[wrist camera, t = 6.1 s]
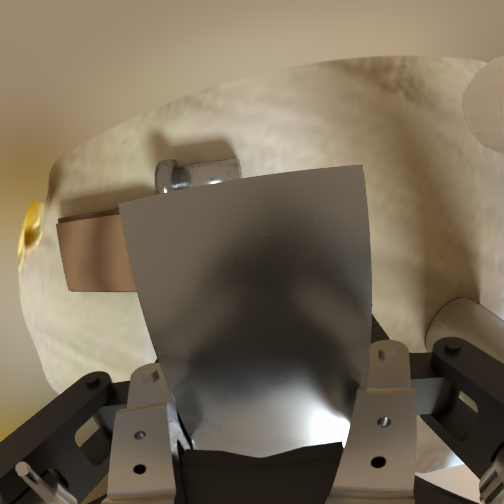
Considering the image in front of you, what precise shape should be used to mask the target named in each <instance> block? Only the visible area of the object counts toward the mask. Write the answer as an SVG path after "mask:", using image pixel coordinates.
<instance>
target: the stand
mask: <svg viewBox="0 0 504 504" xmlns="http://www.w3.org/2000/svg"><path fill="white" fill-rule="evenodd" d="M56 227H57V234H58V240H59V246H60V252H61V258H62V263H63V268H64V273H65V277H66V282H67V286H68V290H71V292H137V290H136V286H135V282H134V278H133V274H132V270H131V266H130V262H129V257H128V253H127V248H126V244H125V239H124V234H123V229H122V224H121V218H120V213H119V209H115V210H108V211H101V212H95V213H88V214H82V215H76V216H70V217H65V218H60V219H58V224H56Z"/></svg>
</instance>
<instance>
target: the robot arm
mask: <svg viewBox="0 0 504 504" xmlns="http://www.w3.org/2000/svg"><path fill="white" fill-rule="evenodd" d="M426 349H427V352H428V353H409V350H408V348H407V346H406V345H405V344H403V343H401V342H399V341H395V340H390V339H389V337H388V336H387V334H386V333H385V332H384V330H383V329H382V327H381V326H380V325H379V323H378V322H377V321H376V319H375V317H374V316H373V315H372V324H371V348H370V364H369V371H366V372H362V378H361V384H360V387H358V390H357V395H356V400H355V405H354V409H353V414H352V418H351V423H350V427H349V431H348V435H347V439H346V443H345V446H343V442H342V441H338V442H332V443H326V444H319V445H312V446H304V447H300V448H297V449H293V450H290V451H286V452H283V453H279V454H275V455H271V456H267V457H261V458H259V457H252V456H246V455H241V454H236V453H231V452H226V451H217V450H196V447H195V444H194V442H193V439H192V437H191V436H189V435H188V433H187V431H186V429H185V427H184V424H183V422H182V420H181V417H180V415H179V413H178V410H177V407H176V400H175V398H174V395H173V393H172V390H171V389H169V388H168V386H167V383H166V381H165V378H164V375H163V372H162V370H161V367H160V364H159V361H158V359H157V360H156V361H155V363H150V364H146V365H143V366H141V367H139V368H138V369H136V370H135V371H134V372H133V373H132V375H131V378H130V381H124V382H117V383H113V382H112V380H111V378H110V376H109V374H108V373H106V372H102V371H97V372H92V373H89V374H87V375H85V376H83V377H82V378H80V379H79V380H78V381H77V382H75V383H74V384H73V385H72V386H70V387H69V388H68V389H66V390H65V391H64V392H63V393H61V394H60V395H59V396H58V397H56V398H55V399H54V400H53V401H51V402H50V403H49V404H48V405H46V406H45V407H44V408H43V409H41V410H40V411H39V412H38V413H36V414H35V415H34V416H33V417H31V418H30V419H29V420H27V421H26V422H25V423H24V424H22V425H21V426H20V427H19V428H17V429H16V430H15V431H14V432H13V433H11V434H10V435H9V436H8V437H6V438H5V439H4V440H3V441H1V442H0V504H80V503H81V502H82V501H83V500H84V499H85V498H86V497H87V496H88V494H89V493H90V492H91V491H92V490H93V489H94V488H95V487H96V486H97V484H98V483H99V482H100V481H101V480H102V479H103V478H104V476H105V475H106V474H107V473H108V472H109V478H108V479H109V480H108V493H107V494H105V495H103V496H102V497H100V498H98V499H96V500H94V501H92V502H90V503H88V504H479V503H476V502H474V501H471V500H469V499H466V498H464V497H461V496H459V495H457V494H454V493H452V492H450V491H447V490H445V489H443V488H441V487H438V486H436V485H434V484H432V483H430V482H428V481H426V480H424V479H422V478H420V477H418V476H416V475H415V464H416V442H417V415H420V417H421V418H422V420H423V421H424V422H425V423H426V424H427V425H428V426H429V427H430V428H431V429H432V430H433V431H434V432H435V433H436V434H437V435H438V436H439V437H440V438H441V439H442V440H443V441H444V442H445V444H446V445H447V446H448V447H449V448H450V449H451V450H452V451H453V452H454V453H455V454H456V455H457V456H458V457H459V458H460V459H461V460H462V461H463V462H464V463H465V464H466V465H467V467H468V468H469V469H470V470H471V471H472V472H473V473H474V474H475V475H476V476H477V477H478V478H479V479H480V483H479V491H480V502H481V503H482V504H504V320H502V319H501V318H500V317H498V316H497V315H495V314H494V313H493V312H491V311H490V310H488V309H487V308H485V307H484V306H482V305H481V304H479V305H478V304H476V303H475V302H474V301H472V300H470V299H468V298H458V299H455V300H453V301H451V302H449V303H448V304H446V305H445V306H444V307H443V308H442V309H441V310H440V311H439V312H438V314H437V315H436V316H435V318H434V319H433V321H432V322H431V324H430V327H429V329H428V332H427V335H426ZM459 395H461V397H462V398H463V399H464V401H465V402H466V403H467V404H466V403H465V402H463V401H462V400H461V399H460V398H459ZM91 417H93V419H94V420H95V422H96V423H97V425H98V427H99V429H98V430H97V431H96V432H95V433H94V434H93V435H92V436H91V437H90V438H89V439H88V440H87V441H86V442H85V443H84V444H83V445H82V446H81V447H80V448H79V447H78V445H77V444H76V442H75V433H76V431H77V430H78V429H79V428H80V427H81V426H82V425H83V424H84V423H85V422H86V421H88V420H89V419H90V418H91Z"/></svg>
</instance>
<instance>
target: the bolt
mask: <svg viewBox="0 0 504 504" xmlns="http://www.w3.org/2000/svg"><path fill="white" fill-rule="evenodd" d="M236 179H242V177H241V167H240V161H239V159H229V160H219V161H210V162H201V163H193V164H185V165H178V163H177V162H176V160H174V159H171V160H164V161H160V162H159V163H158V164H157V166H156V170H155V187H156V192H157V194H161V193H166V192H171V191H175V190H180V189H186V188H191V187H196V186H201V185H207V184H212V183H218V182H224V181H230V180H236Z"/></svg>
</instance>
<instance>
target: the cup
mask: <svg viewBox="0 0 504 504" xmlns="http://www.w3.org/2000/svg"><path fill="white" fill-rule="evenodd" d="M462 108H463V113H464V118H465V120H466V122H467V125H468V127H469V129H470V131H471V133H472V134H473V135H474V137H475V138H476V139H477V141H478V142H480V143H481V144H483V145H484V146H485V147H487V148H489V149H492V150H494V151H497V152H499V153H502V154H504V56H501V57H499V58H496V59H494V60H492V61H491V62H490V63H488V64H487V65H486V66H485V67H484V68H482V69H481V70H480V71H479V72H478V73H476V75H475V76H474V78H473V79H472V80H471V82H470V83H469V84H468V86H467V87H466V89H465V91H464V92H463V96H462Z"/></svg>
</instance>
